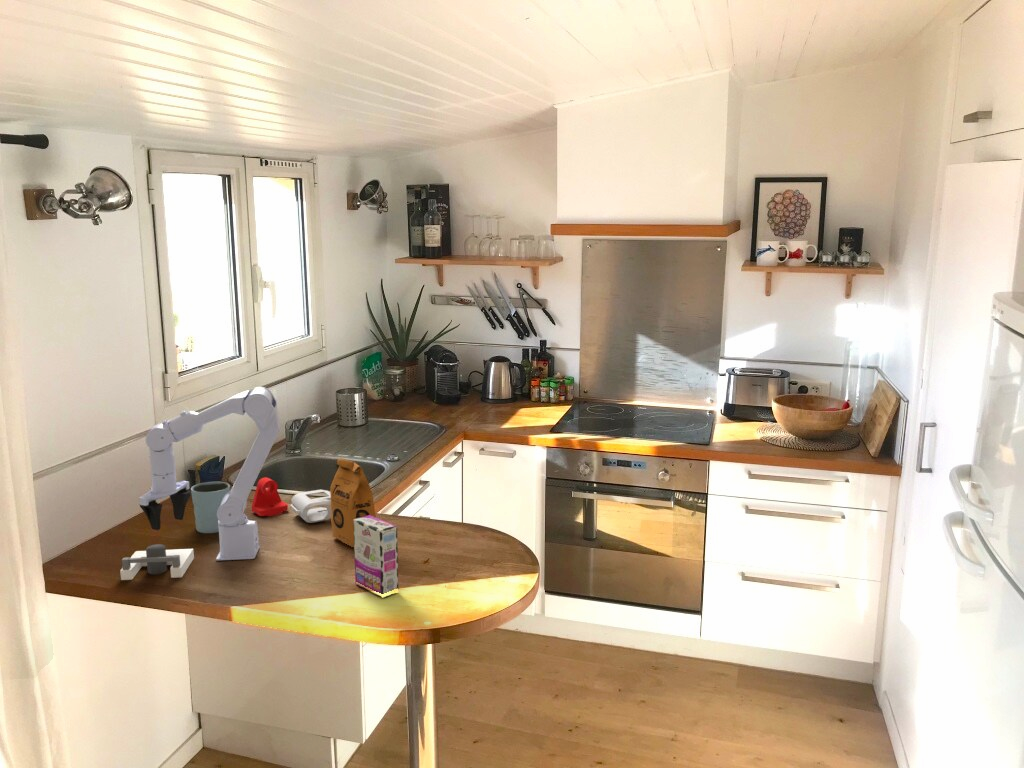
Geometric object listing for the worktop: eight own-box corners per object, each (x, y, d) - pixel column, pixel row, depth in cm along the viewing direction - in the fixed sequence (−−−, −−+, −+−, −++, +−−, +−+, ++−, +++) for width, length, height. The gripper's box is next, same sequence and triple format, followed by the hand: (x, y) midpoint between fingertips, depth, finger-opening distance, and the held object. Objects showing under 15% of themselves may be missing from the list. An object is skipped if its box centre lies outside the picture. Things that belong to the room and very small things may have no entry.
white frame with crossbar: (194, 557, 216) (192, 538, 215) (181, 577, 205) (180, 557, 204) (136, 560, 215) (135, 541, 214) (121, 580, 203) (119, 560, 202)
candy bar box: (400, 592, 196) (398, 525, 193) (382, 599, 193) (380, 531, 190) (371, 578, 204) (369, 513, 201) (354, 584, 201) (352, 518, 198)
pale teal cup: (186, 531, 235) (182, 490, 232) (209, 519, 244) (207, 479, 242) (216, 535, 231) (213, 493, 229) (239, 523, 241) (237, 483, 239)
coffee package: (348, 552, 220) (344, 471, 216) (327, 538, 230) (324, 460, 226) (382, 543, 226) (379, 464, 222) (360, 530, 236) (358, 454, 232)
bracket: (261, 518, 245) (259, 485, 243) (251, 513, 250) (250, 480, 248) (289, 511, 251) (287, 479, 249) (279, 506, 255) (277, 474, 253)
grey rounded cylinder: (163, 574, 206) (162, 550, 205) (145, 574, 206) (143, 551, 205) (169, 566, 211) (167, 544, 210) (151, 567, 210) (149, 544, 209)
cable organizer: (343, 499, 242) (328, 488, 252) (300, 506, 236) (287, 494, 246) (343, 521, 243) (329, 509, 253) (301, 528, 237) (288, 516, 247)
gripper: (173, 462, 219) (177, 512, 222) (128, 478, 206) (132, 531, 209) (194, 465, 217) (198, 516, 219) (149, 481, 203) (154, 535, 206)
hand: (167, 524), depth 214 cm, fingers open, 7 cm apart
